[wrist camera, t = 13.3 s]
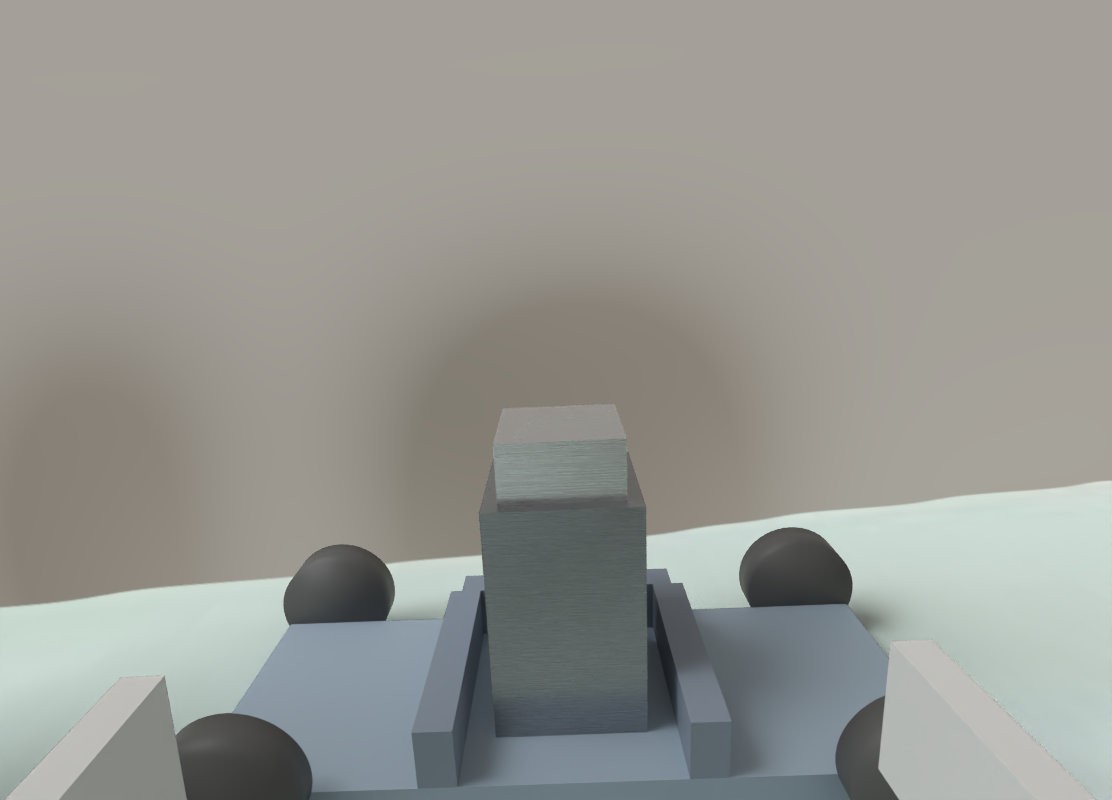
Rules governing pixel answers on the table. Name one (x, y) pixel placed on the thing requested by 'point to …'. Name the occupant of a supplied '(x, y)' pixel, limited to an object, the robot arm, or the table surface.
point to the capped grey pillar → (565, 574)
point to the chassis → (563, 760)
